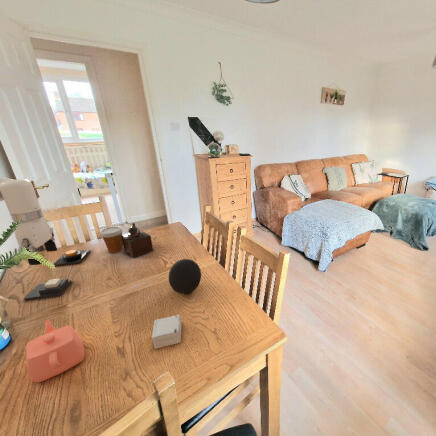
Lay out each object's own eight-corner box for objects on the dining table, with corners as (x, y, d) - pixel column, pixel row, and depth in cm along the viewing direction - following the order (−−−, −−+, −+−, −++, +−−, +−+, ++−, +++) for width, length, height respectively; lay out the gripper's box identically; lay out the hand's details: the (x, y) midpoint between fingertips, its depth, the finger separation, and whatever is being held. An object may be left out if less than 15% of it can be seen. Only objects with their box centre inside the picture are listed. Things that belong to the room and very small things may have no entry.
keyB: (64, 257, 116) (63, 254, 115) (68, 253, 119) (67, 250, 119) (74, 256, 117) (73, 253, 116) (78, 252, 120) (77, 249, 120)
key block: (53, 266, 112) (51, 261, 111) (67, 253, 123) (65, 249, 122) (79, 263, 115) (77, 259, 114) (90, 251, 126) (88, 247, 125)
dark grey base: (24, 301, 91) (21, 294, 90) (39, 286, 99) (37, 280, 98) (60, 296, 95) (57, 290, 93) (71, 282, 103) (69, 276, 101)
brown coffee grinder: (122, 252, 126) (114, 221, 120) (144, 244, 135) (138, 215, 128) (137, 262, 119) (129, 229, 112) (159, 253, 127) (153, 222, 120)
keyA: (45, 288, 94) (44, 285, 94) (50, 283, 98) (49, 279, 97) (56, 287, 96) (55, 283, 95) (61, 281, 99) (60, 278, 98)
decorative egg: (186, 279, 109) (182, 250, 103) (208, 286, 105) (205, 257, 99) (164, 295, 98) (158, 264, 92) (188, 304, 94) (183, 272, 88)
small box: (157, 330, 82) (154, 319, 80) (182, 325, 85) (180, 313, 83) (153, 349, 75) (151, 337, 73) (181, 343, 78) (179, 331, 76)
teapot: (33, 399, 61) (17, 371, 57) (31, 353, 72) (18, 327, 68) (90, 369, 69) (79, 342, 65) (80, 331, 80) (71, 307, 76)
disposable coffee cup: (101, 255, 123) (95, 234, 118) (110, 246, 131) (104, 226, 127) (122, 253, 125) (117, 233, 121) (129, 245, 134) (124, 225, 129)
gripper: (30, 207, 90) (46, 247, 96) (-7, 226, 75) (14, 271, 81) (55, 206, 92) (68, 245, 99) (24, 224, 77) (42, 269, 83)
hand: (44, 257), depth 90 cm, fingers open, 9 cm apart
